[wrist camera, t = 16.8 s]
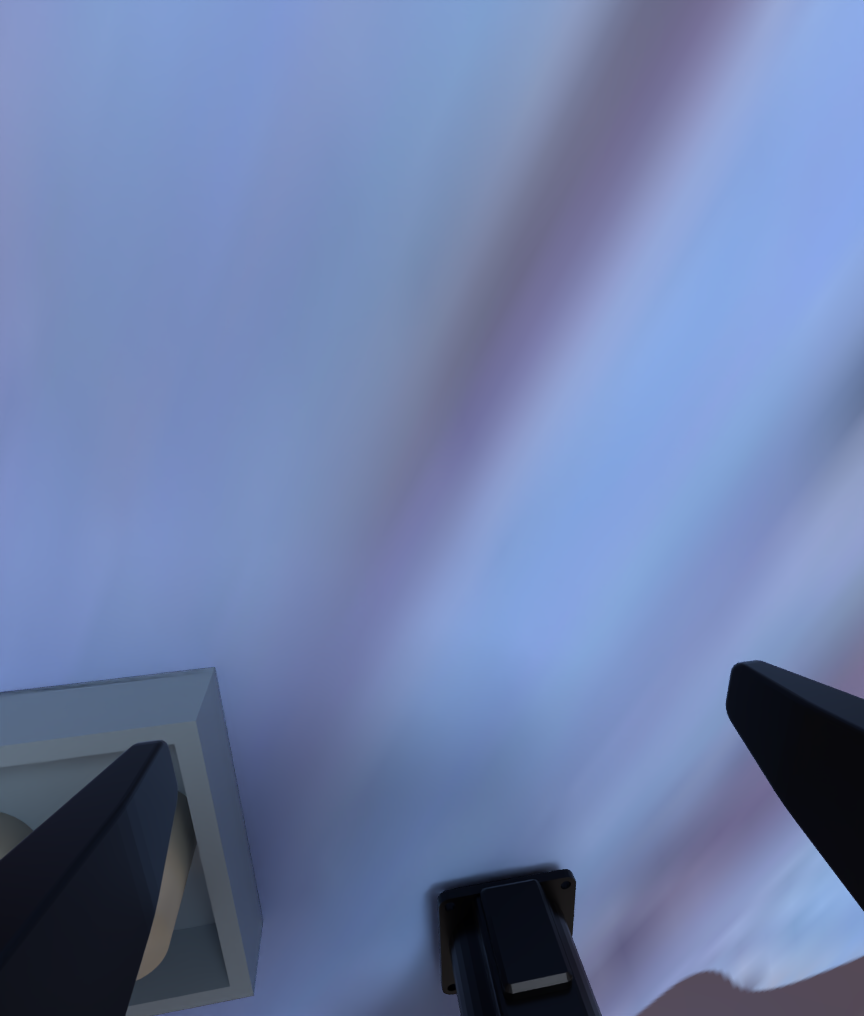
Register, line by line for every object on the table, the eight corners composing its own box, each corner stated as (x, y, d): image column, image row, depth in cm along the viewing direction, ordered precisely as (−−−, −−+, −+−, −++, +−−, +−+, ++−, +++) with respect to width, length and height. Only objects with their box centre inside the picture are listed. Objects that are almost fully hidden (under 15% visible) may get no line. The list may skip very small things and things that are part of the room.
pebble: (209, 857, 23) (181, 975, 19) (97, 875, 23) (42, 1001, 19) (190, 774, 22) (155, 882, 18) (70, 792, 21) (4, 908, 17)
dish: (262, 920, 25) (253, 995, 23) (-69, 980, 23) (-124, 1070, 21) (214, 667, 21) (195, 720, 18) (-198, 716, 19) (-290, 783, 16)
